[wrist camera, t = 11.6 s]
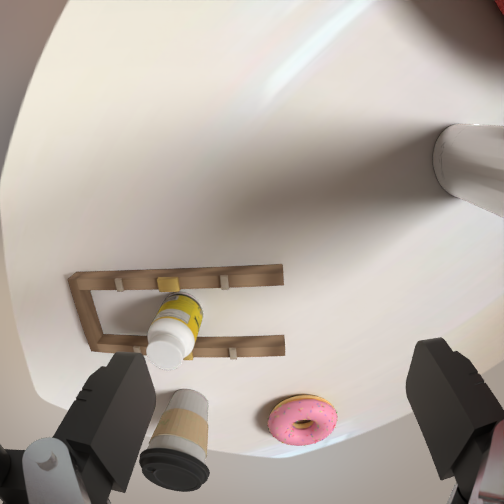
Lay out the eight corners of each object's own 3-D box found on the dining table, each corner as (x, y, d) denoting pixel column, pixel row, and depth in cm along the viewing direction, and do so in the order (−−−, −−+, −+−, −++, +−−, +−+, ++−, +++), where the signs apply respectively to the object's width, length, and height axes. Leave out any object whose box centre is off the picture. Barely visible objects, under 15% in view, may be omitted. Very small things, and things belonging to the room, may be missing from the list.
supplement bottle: (197, 332, 42) (181, 382, 33) (159, 318, 41) (135, 364, 32) (209, 299, 40) (194, 347, 31) (168, 284, 39) (143, 327, 30)
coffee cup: (159, 376, 45) (129, 453, 31) (220, 385, 45) (206, 467, 31) (164, 415, 48) (142, 486, 34) (219, 423, 48) (208, 498, 34)
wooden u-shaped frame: (282, 263, 38) (283, 274, 35) (284, 344, 42) (285, 358, 39) (76, 271, 39) (65, 281, 37) (98, 341, 43) (89, 353, 41)
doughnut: (331, 430, 48) (334, 448, 45) (268, 433, 49) (267, 452, 45) (339, 387, 45) (344, 406, 41) (266, 391, 45) (266, 411, 41)
